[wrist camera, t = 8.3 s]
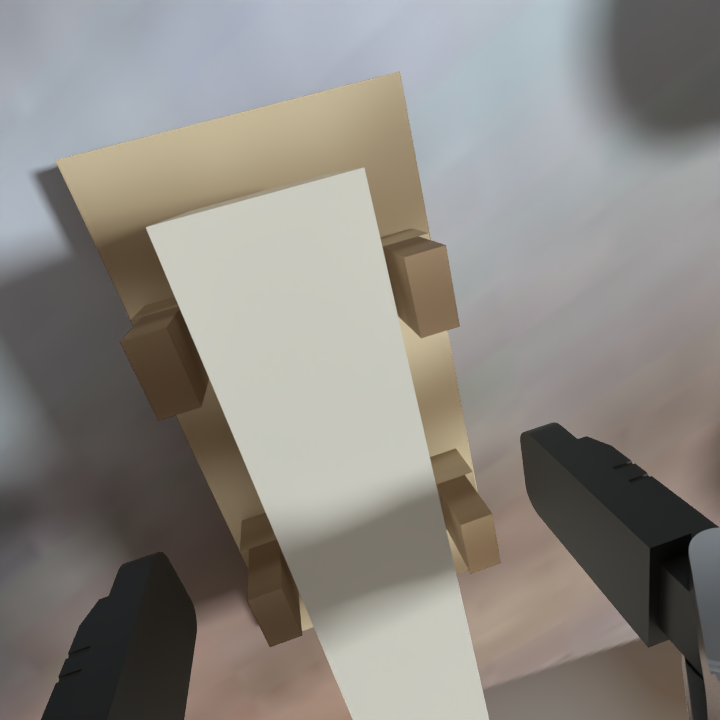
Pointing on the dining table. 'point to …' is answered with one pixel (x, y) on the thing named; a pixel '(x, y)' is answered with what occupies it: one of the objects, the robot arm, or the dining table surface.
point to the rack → (175, 344)
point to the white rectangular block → (331, 432)
